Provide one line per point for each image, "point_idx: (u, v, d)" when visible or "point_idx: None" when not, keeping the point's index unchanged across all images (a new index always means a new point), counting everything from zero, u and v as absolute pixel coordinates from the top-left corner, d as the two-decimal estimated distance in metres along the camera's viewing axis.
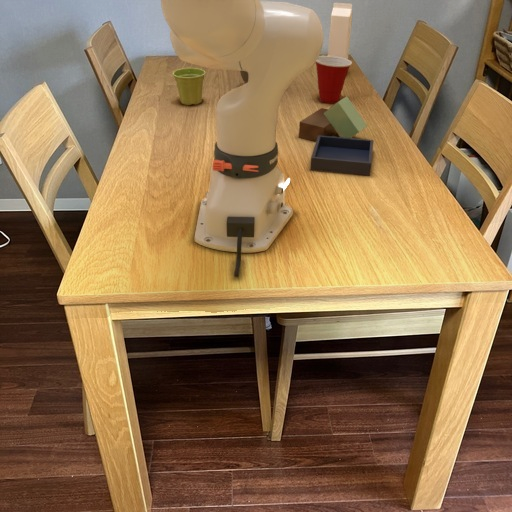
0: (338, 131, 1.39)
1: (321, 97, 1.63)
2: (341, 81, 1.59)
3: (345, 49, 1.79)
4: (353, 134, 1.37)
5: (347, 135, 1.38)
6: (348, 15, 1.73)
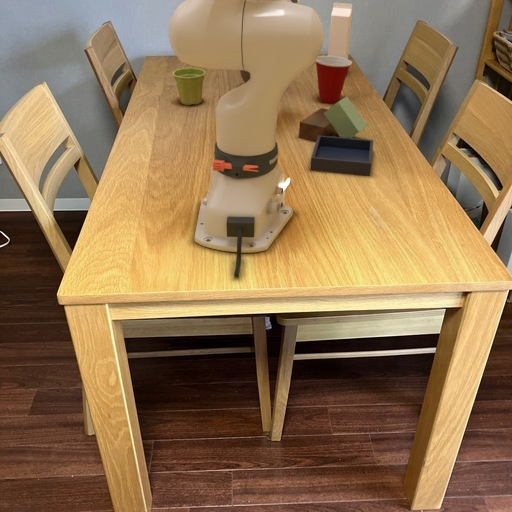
0: (338, 131, 1.39)
1: (321, 97, 1.63)
2: (341, 81, 1.59)
3: (345, 49, 1.79)
4: (353, 134, 1.37)
5: (347, 135, 1.38)
6: (348, 15, 1.73)
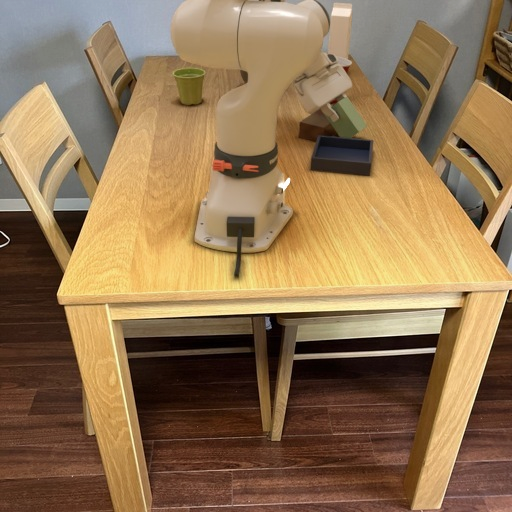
0: (338, 131, 1.39)
1: None
2: None
3: (345, 49, 1.79)
4: (353, 134, 1.37)
5: (347, 135, 1.38)
6: (348, 15, 1.73)
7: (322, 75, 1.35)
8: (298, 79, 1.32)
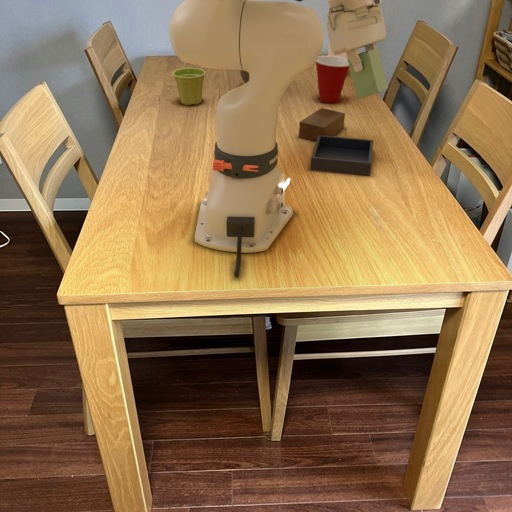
0: (356, 84, 1.22)
1: (321, 97, 1.63)
2: (341, 81, 1.59)
3: None
4: (371, 93, 1.21)
5: (364, 91, 1.22)
6: None
7: (361, 14, 1.17)
8: (335, 9, 1.13)
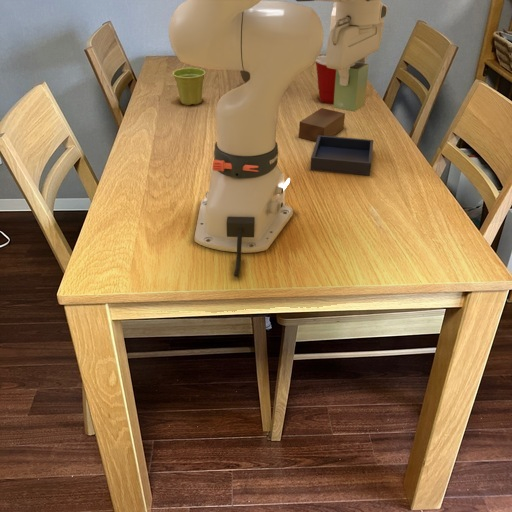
0: (336, 93, 1.20)
1: (321, 97, 1.63)
2: None
3: None
4: (347, 108, 1.21)
5: (341, 104, 1.21)
6: None
7: (364, 31, 1.12)
8: (342, 23, 1.07)
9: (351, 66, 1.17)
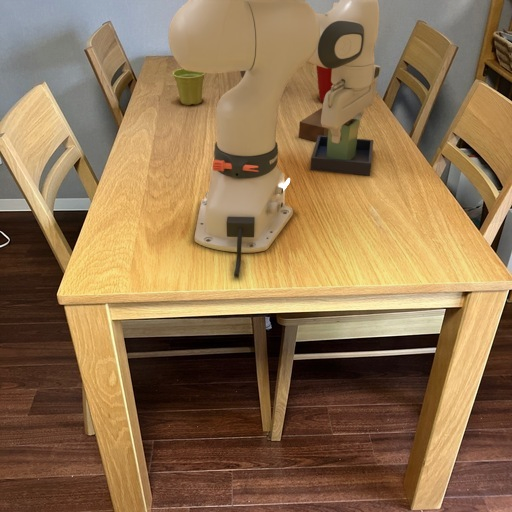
0: (329, 146, 1.28)
1: (321, 97, 1.63)
2: None
3: None
4: None
5: (334, 156, 1.29)
6: None
7: (358, 92, 1.19)
8: (336, 88, 1.14)
9: None
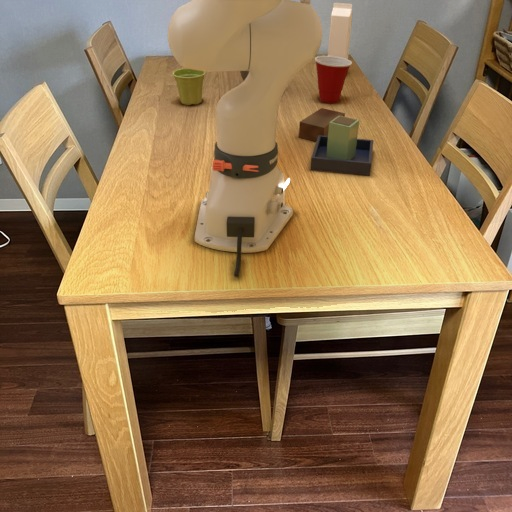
0: (329, 146, 1.28)
1: (321, 97, 1.63)
2: (341, 81, 1.59)
3: (345, 49, 1.79)
4: None
5: (334, 156, 1.29)
6: (348, 15, 1.73)
7: None
8: None
9: (343, 123, 1.25)
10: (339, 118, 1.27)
